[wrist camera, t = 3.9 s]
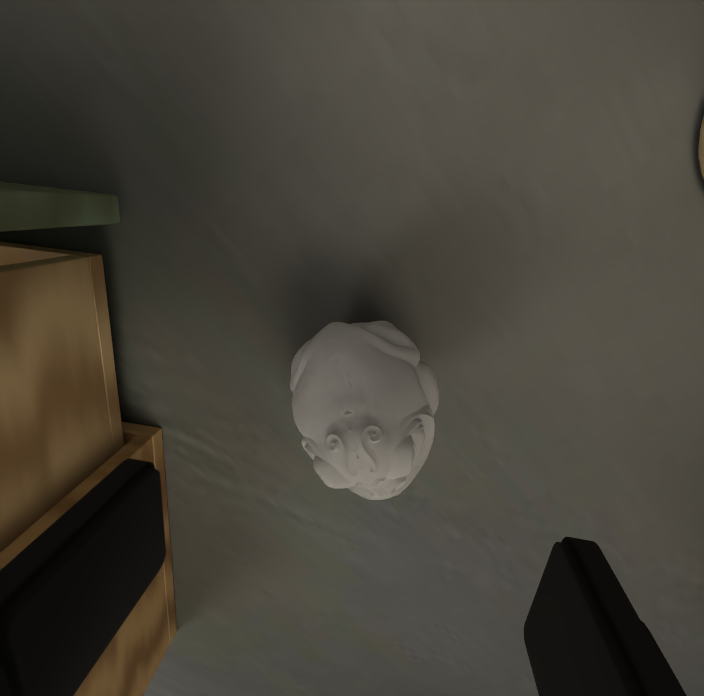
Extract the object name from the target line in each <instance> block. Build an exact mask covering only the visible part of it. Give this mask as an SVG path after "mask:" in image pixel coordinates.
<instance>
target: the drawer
mask: <svg viewBox="0 0 704 696" xmlns="http://www.w3.org/2000/svg"><path fill="white" fill-rule="evenodd" d="M118 223H120V217H119V207H118V197H117V196H116V195H113V194H104V193H95V192H87V191H78V190H69V189H61V188H52V187H43V186H35V185H26V184H17V183H9V182H0V232H1V231H16V230H31V229H46V228H61V227H76V226H91V225H105V224H118ZM123 446H124V440H123V432H122V423H121V415H120V406H119V398H118V389H117V380H116V372H115V363H114V355H113V346H112V337H111V329H110V320H109V312H108V303H107V295H106V286H105V277H104V269H103V260H102V255H100V254H93V253H85V252H77V251H69V250H62V249H54V248H46V247H38V246H30V245H23V244H15V243H7V242H0V553H1V552H2V551H3V550H4V549H5V548H6V547H8V546H9V545H10V544H11V543H12V542H13V541H14V540H16V539H17V538H18V537H19V536H20V535H21V534H23V533H24V532H25V531H26V530H27V529H28V528H30V527H31V526H32V525H33V524H34V523H35V522H36V521H38V520H39V519H40V518H41V517H42V516H43V515H45V514H46V513H47V512H48V511H49V510H50V509H52V508H53V507H54V506H55V505H56V504H57V503H58V502H60V501H61V500H62V499H63V498H64V497H65V496H67V495H68V494H69V493H70V492H71V491H72V490H74V489H75V488H76V487H77V486H78V485H79V484H80V483H82V482H83V481H84V480H85V479H86V478H87V477H89V476H90V475H91V474H92V473H93V472H94V471H96V470H97V469H98V468H99V467H100V466H101V465H102V464H104V463H105V462H106V461H107V460H108V459H109V458H111V457H112V456H113V455H114V454H115V453H116V452H118V451H119V450H120V449H121V448H122V447H123Z"/></svg>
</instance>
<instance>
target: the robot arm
mask: <svg viewBox="0 0 704 696" xmlns="http://www.w3.org/2000/svg"><path fill="white" fill-rule="evenodd" d="M165 556H166V544H165V531H164V518H163V505H162V492H161V478H160V472H159V470H156V469H155V466H154V464H153V463H152V462H148V461H142V460H136V459H131V458H129V459H126V460H124V461H123V462H122V463H120V464H119V465H118V466H117V467H116V468H115V469H114V470H113V471H111V472H110V473H109V474H108V475H107V476H106V477H105V478H104V479H102V480H101V481H100V482H99V483H98V484H97V485H96V486H95V487H93V488H92V489H91V490H90V491H89V492H88V493H87V494H86V495H84V496H83V497H82V498H81V499H80V500H79V501H78V502H77V503H75V504H74V505H73V506H72V507H71V508H70V509H69V510H68V511H66V512H65V513H64V514H63V515H62V516H61V517H60V518H58V519H57V520H56V521H55V522H54V523H53V524H52V525H51V526H49V527H48V528H47V529H46V530H45V531H44V532H43V533H42V534H40V535H39V536H38V537H37V538H36V539H35V540H34V541H33V542H31V543H30V544H29V545H28V546H27V547H26V548H25V549H24V550H22V551H21V552H20V553H19V554H18V555H17V556H16V557H15V558H13V559H12V560H11V561H10V562H9V563H8V564H7V565H6V566H4V567H3V568H2V569H1V570H0V696H74V694H75V693H76V691H77V690H78V688H79V687H80V686H81V684H82V683H83V681H84V680H85V678H86V677H87V675H88V674H89V672H90V671H91V669H92V668H93V667H94V665H95V664H96V662H97V661H98V659H99V658H100V656H101V655H102V653H103V652H104V651H105V649H106V648H107V646H108V645H109V643H110V642H111V640H112V639H113V637H114V636H115V635H116V633H117V632H118V630H119V629H120V627H121V626H122V624H123V623H124V621H125V620H126V618H127V617H128V616H129V614H130V613H131V611H132V610H133V608H134V607H135V605H136V604H137V602H138V601H139V600H140V598H141V597H142V595H143V594H144V592H145V591H146V589H147V588H148V586H149V585H150V584H151V582H152V581H153V579H154V578H155V576H156V575H157V573H158V572H159V570H160V569H161V567H162V565H163V563H164V560H165ZM524 640H525V645H526V649H527V652H528V656H529V660H530V664H531V667H532V671H533V675H534V678H535V682H536V686H537V690H538V693H539V696H686V694H685V692H684V690H683V689H682V687H681V685H680V683H679V682H678V680H677V678H676V676H675V675H674V673H673V671H672V669H671V668H670V666H669V664H668V662H667V661H666V659H665V657H664V655H663V654H662V652H661V650H660V648H659V647H658V645H657V643H656V641H655V640H654V638H653V636H652V634H651V633H650V631H649V630H648V628H647V627H646V625H645V624H644V623H643V622H642V621H641V620H640V619H639V617H638V615H637V613H636V612H635V610H634V608H633V606H632V604H631V603H630V601H629V599H628V597H627V596H626V594H625V592H624V590H623V588H622V587H621V585H620V583H619V581H618V580H617V578H616V576H615V574H614V572H613V571H612V569H611V567H610V565H609V564H608V562H607V560H606V558H605V556H604V555H603V553H602V551H601V549H600V548H599V546H598V545H597V544H596V543H595V542H593V541H588V540H583V539H577V538H572V537H565V538H564V539H563V540H562V542H561V543H560V542H556V543H555V544H554V546H553V548H552V551H551V554H550V556H549V559H548V562H547V565H546V567H545V570H544V573H543V575H542V578H541V581H540V584H539V586H538V589H537V592H536V595H535V597H534V600H533V603H532V605H531V608H530V611H529V614H528V616H527V619H526V622H525V625H524Z"/></svg>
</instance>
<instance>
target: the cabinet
mask: <svg viewBox="0 0 704 696" xmlns="http://www.w3.org/2000/svg"><path fill="white" fill-rule="evenodd" d="M121 423H122V432H123V440H124V446H123V447H122V448H121V449H120V450H119V451H118V452H116V453H115V454H114V455H113V456H112V457H111V458H109V459H108V460H107V461H106V462H105V463H104V464H102V465H101V466H100V467H99V468H98V469H97V470H96V471H94V472H93V473H92V474H91V475H90V476H89V477H87V478H86V479H85V480H84V481H83V482H82V483H80V484H79V485H78V486H77V487H76V488H75V489H74V490H72V491H71V492H70V493H69V494H68V495H67V496H65V497H64V498H63V499H62V500H61V501H60V502H58V503H57V504H56V505H55V506H54V507H53V508H52V509H50V510H49V511H48V512H47V513H46V514H45V515H43V516H42V517H41V518H40V519H39V520H38V521H36V522H35V523H34V524H33V525H32V526H31V527H30V528H28V529H27V530H26V531H25V532H24V533H23V534H21V535H20V536H19V537H18V538H17V539H16V540H14V541H13V542H12V543H11V544H10V545H9V546H8V547H6V548H5V549H4V550H3V551H2V552H1V553H0V570H1V569H2V568H3V567H4V566H6V565H7V564H8V563H9V562H10V561H11V560H12V559H13V558H15V557H16V556H17V555H18V554H19V553H20V552H21V551H22V550H24V549H25V548H26V547H27V546H28V545H29V544H30V543H31V542H33V541H34V540H35V539H36V538H37V537H38V536H39V535H40V534H42V533H43V532H44V531H45V530H46V529H47V528H48V527H49V526H51V525H52V524H53V523H54V522H55V521H56V520H57V519H58V518H60V517H61V516H62V515H63V514H64V513H65V512H66V511H68V510H69V509H70V508H71V507H72V506H73V505H74V504H75V503H77V502H78V501H79V500H80V499H81V498H82V497H83V496H84V495H86V494H87V493H88V492H89V491H90V490H91V489H92V488H93V487H95V486H96V485H97V484H98V483H99V482H100V481H101V480H102V479H104V478H105V477H106V476H107V475H108V474H109V473H110V472H111V471H113V470H114V469H115V468H116V467H117V466H118V465H119V464H120V463H122V462H123V461H124V460H126V459H129V458H131V459H136V460H142V461H148V462H152V463H153V464H154V466H155V469H156V470H159V472H160V478H161V492H162V505H163V518H164V531H165V544H166V556H165V560H164V563H163V565H162V567H161V569H160V570H159V572H158V573H157V575H156V576H155V578H154V579H153V581H152V582H151V584H150V585H149V586H148V588H147V589H146V591H145V592H144V594H143V595H142V597H141V598H140V600H139V601H138V602H137V604H136V605H135V607H134V608H133V610H132V611H131V613H130V614H129V616H128V617H127V618H126V620H125V621H124V623H123V624H122V626H121V627H120V629H119V630H118V632H117V633H116V635H115V636H114V637H113V639H112V640H111V642H110V643H109V645H108V646H107V648H106V649H105V651H104V652H103V653H102V655H101V656H100V658H99V659H98V661H97V662H96V664H95V665H94V667H93V668H92V669H91V671H90V672H89V674H88V675H87V677H86V678H85V680H84V681H83V683H82V684H81V686H80V687H79V688H78V690H77V691H76V693H75V694H74V696H143V694H144V692H145V690H146V688H147V686H148V684H149V682H150V681H151V679H152V677H153V675H154V673H155V671H156V669H157V667H158V666H159V664H160V662H161V660H162V658H163V656H164V654H165V652H166V650H167V649H168V647H169V645H170V643H171V641H172V639H173V638H174V636H175V634H176V632H177V624H176V611H175V598H174V585H173V571H172V558H171V545H170V532H169V519H168V505H167V492H166V479H165V466H164V453H163V439H162V428H158V427H152V426H146V425H140V424H134V423H127V422H121Z"/></svg>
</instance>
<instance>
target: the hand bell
mask: <svg viewBox="0 0 704 696" xmlns="http://www.w3.org/2000/svg"><path fill="white" fill-rule="evenodd" d="M698 158H699V163H700V169H701V173H702V177H703V180H704V116H703V120H702V124H701V129H700V140H699V150H698Z"/></svg>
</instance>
